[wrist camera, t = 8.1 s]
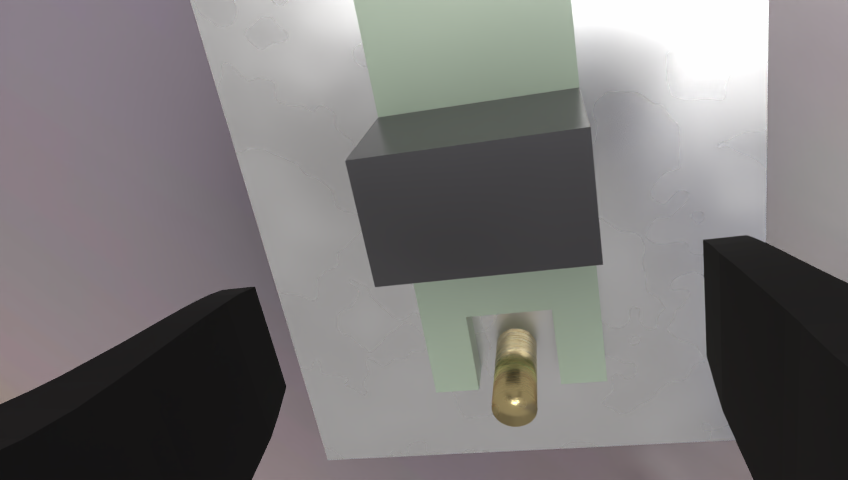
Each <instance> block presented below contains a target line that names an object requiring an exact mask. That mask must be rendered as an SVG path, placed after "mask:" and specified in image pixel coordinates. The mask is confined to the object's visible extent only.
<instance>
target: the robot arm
mask: <svg viewBox="0 0 848 480" xmlns="http://www.w3.org/2000/svg"><path fill="white" fill-rule="evenodd" d="M703 259H704V291H705V323H706V355H707V359H708V363H709V366H710V370H711V373H712V377H713V381H714V384H715V387H716V391H717V394H718V397H719V401H720V404H721V407H722V410H723V413H724V415H725V417H726V420H727V422H728V424H729V427H730V429H731V431H732V433H733V435H734V438H735V440H736V442H737V444H738V446H739V449H740V451H741V453H742V455H743V458H744V460H745V462H746V464H747V466H748V468H749V471H750V473H751V475H752V477H753V479H754V480H848V283H846V282H844V281H842V280H840V279H838V278H836V277H834V276H832V275H830V274H828V273H825V272H823V271H821V270H819V269H817V268H815V267H813V266H811V265H809V264H807V263H805V262H803V261H801V260H799V259H797V258H795V257H793V256H791V255H789V254H787V253H785V252H783V251H781V250H779V249H777V248H775V247H773V246H771V245H769V244H767V243H765V242H763V241H761V240H758V239H756V238H754V237H751V236H748V235H743V236H733V237H724V238H714V239H705V240H703ZM285 389H286V384H285V381H284V378H283V375H282V372H281V368H280V365H279V362H278V359H277V356H276V353H275V349H274V346H273V343H272V340H271V337H270V333H269V330H268V327H267V324H266V321H265V318H264V314H263V311H262V308H261V305H260V302H259V299H258V295H257V292H256V289H255V287H247V288H238V289H228V290H221V291H218V292H216V293H213V294H211V295H208V296H206V297H204V298H202V299H200V300H198V301H196V302H194V303H192V304H190V305H188V306H186V307H184V308H182V309H181V310H179V311H177V312H175V313H173V314H172V315H170V316H168V317H166V318H164V319H163V320H161V321H159V322H157V323H156V324H154V325H152V326H150V327H149V328H147V329H145V330H143V331H142V332H140V333H138V334H136V335H135V336H133V337H131V338H129V339H128V340H126V341H124V342H122V343H121V344H119V345H117V346H115V347H113V348H112V349H110V350H108V351H106V352H104V353H102V354H100V355H99V356H97V357H95V358H93V359H91V360H89V361H87V362H86V363H84V364H82V365H80V366H78V367H76V368H74V369H73V370H71V371H69V372H67V373H65V374H63V375H61V376H59V377H57V378H55V379H53V380H51V381H49V382H47V383H45V384H43V385H41V386H39V387H37V388H35V389H33V390H31V391H29V392H27V393H24V394H22V395H20V396H18V397H16V398H13V399H11V400H9V401H7V402H4V403H2V404H0V480H252V478H253V476H254V473H255V471H256V469H257V467H258V465H259V463H260V461H261V458H262V456H263V454H264V452H265V450H266V448H267V445H268V443H269V441H270V439H271V436H272V433H273V430H274V427H275V424H276V421H277V418H278V415H279V411H280V407H281V404H282V400H283V397H284V393H285Z"/></svg>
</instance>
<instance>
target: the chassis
mask: <svg viewBox="0 0 848 480" xmlns="http://www.w3.org/2000/svg"><path fill="white" fill-rule="evenodd" d="M190 2H191V5H192V8H193V12H194V15H195V18H196V22H197V25H198V28H199V32H200V35H201V38H202V42H203V45H204V48H205V52H206V55H207V58H208V62H209V65H210V68H211V72H212V75H213V78H214V82H215V85H216V89H217V92H218V95H219V99H220V102H221V105H222V109H223V112H224V115H225V119H226V122H227V125H228V129H229V132H230V135H231V139H232V142H233V145H234V149H235V152H236V155H237V159H238V162H239V165H240V169H241V172H242V175H243V179H244V182H245V185H246V189H247V192H248V195H249V199H250V202H251V205H252V209H253V212H254V215H255V219H256V222H257V225H258V229H259V232H260V235H261V239H262V242H263V245H264V249H265V252H266V255H267V259H268V262H269V265H270V269H271V272H272V275H273V279H274V282H275V285H276V289H277V292H278V295H279V299H280V302H281V305H282V309H283V312H284V315H285V319H286V322H287V325H288V329H289V332H290V335H291V339H292V342H293V345H294V349H295V352H296V355H297V359H298V362H299V365H300V369H301V372H302V375H303V379H304V382H305V385H306V389H307V392H308V395H309V399H310V402H311V405H312V409H313V412H314V416H315V419H316V422H317V426H318V429H319V432H320V436H321V439H322V442H323V446H324V449H325V452H326V456H327V459H328V460H340V459H361V458H381V457H402V456H422V455H443V454H463V453H483V452H504V451H524V450H545V449H565V448H586V447H606V446H626V445H647V444H667V443H688V442H708V441H728V440H735V438H734V435H733V433H732V431H731V429H730V427H729V424H728V422H727V420H726V417H725V415H724V413H723V410H722V407H721V404H720V401H719V397H718V394H717V391H716V387H715V384H714V381H713V377H712V373H711V370H710V366H709V363H708V359H707V355H706V323H705V291H704V259H703V240H705V239H714V238H724V237H733V236H743V235H748V236H751V237H754V238H756V239H758V240H761V241H763V242H765V243H766V200H767V103H768V5H769V0H571V4H572V14H573V25H574V35H575V46H576V56H577V67H578V77H579V88H580V91H581V95H582V98H583V102H584V105H585V109H586V112H587V116H588V119H589V123H590V126H591V136H592V147H593V158H594V169H595V180H596V191H597V202H598V213H599V224H600V236H601V247H602V258H603V265H596V267H597V278H598V288H599V299H600V309H601V320H602V330H603V341H604V351H605V362H606V372H607V381H603V382H588V383H573V384H561V378H560V370H559V362H558V354H557V346H556V339H555V331H554V323H553V315H552V310H542V311H530V312H519V313H507V314H496V315H485V316H473V317H472V320H473V326H474V331H475V337H476V343H477V348H478V354H479V359H480V365H481V378H480V387H479V390H468V391H453V392H438V393H436V389H435V384H434V379H433V374H432V370H431V365H430V360H429V355H428V351H427V346H426V341H425V337H424V332H423V327H422V322H421V318H420V313H419V308H418V303H417V299H416V294H415V289H414V285H413V284H403V285H393V286H382V287H375V285H374V281H373V277H372V273H371V268H370V264H369V260H368V256H367V252H366V247H365V243H364V239H363V235H362V230H361V226H360V222H359V218H358V214H357V209H356V205H355V201H354V197H353V192H352V188H351V184H350V180H349V175H348V171H347V167H346V163H345V160H346V159H347V157H348V156H349V155H350V153H351V152H352V151H353V150H354V148H355V147H356V146H357V144H358V143H359V142H360V140H361V139H362V138H363V136H364V135H365V134H366V133H367V131H368V130H369V129H370V127H371V126H372V125H373V123H374V122H375V121H376V119H377V118H378V114H377V110H376V105H375V100H374V96H373V91H372V86H371V81H370V77H369V72H368V67H367V63H366V58H365V53H364V48H363V44H362V39H361V34H360V29H359V25H358V20H357V15H356V11H355V6H354V1H353V0H190Z"/></svg>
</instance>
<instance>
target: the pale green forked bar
mask: <svg viewBox="0 0 848 480" xmlns="http://www.w3.org/2000/svg"><path fill="white" fill-rule="evenodd" d="M353 1H354V6H355V11H356V15H357V20H358V25H359V29H360V34H361V39H362V44H363V48H364V53H365V58H366V63H367V67H368V72H369V77H370V81H371V86H372V91H373V96H374V100H375V105H376V110H377V114H378V118H377V119H376V121H375V122H374V123H373V125H372V126H371V127H370V129H369V130H368V131H367V133H366V134H365V135H364V136H363V138H362V139H361V140H360V142H359V143H358V144H357V146H356V147H355V148H354V150H353V151H352V152H351V153H350V155H349V156H348V157H347V159H346V160H345V163H346V167H347V171H348V175H349V180H350V184H351V188H352V192H353V197H354V201H355V205H356V209H357V214H358V218H359V222H360V226H361V230H362V235H363V239H364V243H365V247H366V252H367V256H368V260H369V264H370V268H371V273H372V277H373V281H374V285H375V287H382V286H393V285H403V284H413V285H414V289H415V294H416V299H417V303H418V308H419V313H420V318H421V322H422V327H423V332H424V337H425V341H426V346H427V351H428V355H429V360H430V365H431V370H432V374H433V379H434V384H435V389H436V393H438V392H453V391H468V390H479V387H480V378H481V365H480V359H479V354H478V348H477V343H476V337H475V331H474V326H473V320H472V317H473V316H485V315H496V314H507V313H519V312H530V311H542V310H552V315H553V323H554V331H555V339H556V346H557V354H558V362H559V370H560V378H561V384H573V383H588V382H603V381H607V372H606V362H605V351H604V341H603V330H602V320H601V309H600V299H599V288H598V278H597V267H596V265H603V258H602V247H601V236H600V224H599V213H598V202H597V191H596V180H595V169H594V158H593V147H592V136H591V126H590V123H589V119H588V116H587V112H586V109H585V105H584V102H583V98H582V95H581V91H580V88H579V77H578V67H577V56H576V46H575V35H574V25H573V14H572V4H571V0H353Z"/></svg>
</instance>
